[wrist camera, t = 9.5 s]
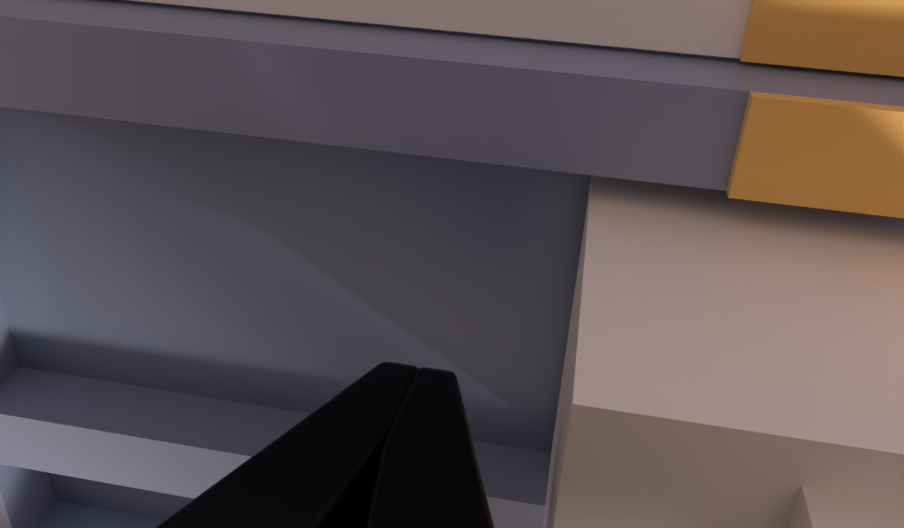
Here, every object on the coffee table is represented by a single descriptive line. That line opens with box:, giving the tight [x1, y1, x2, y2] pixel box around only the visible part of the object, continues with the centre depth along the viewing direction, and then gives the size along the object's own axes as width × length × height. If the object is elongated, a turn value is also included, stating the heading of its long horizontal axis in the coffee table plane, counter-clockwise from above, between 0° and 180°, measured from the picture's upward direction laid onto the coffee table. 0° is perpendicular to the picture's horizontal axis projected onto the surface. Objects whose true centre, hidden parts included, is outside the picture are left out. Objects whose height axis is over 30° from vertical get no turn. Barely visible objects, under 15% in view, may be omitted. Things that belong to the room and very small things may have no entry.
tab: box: [543, 175, 904, 528], centre depth 8 cm, size 4×4×5 cm
